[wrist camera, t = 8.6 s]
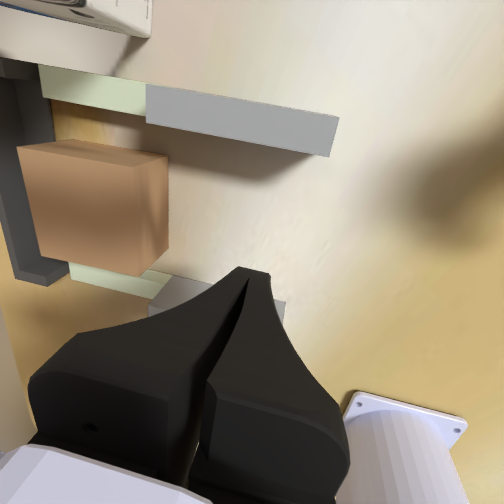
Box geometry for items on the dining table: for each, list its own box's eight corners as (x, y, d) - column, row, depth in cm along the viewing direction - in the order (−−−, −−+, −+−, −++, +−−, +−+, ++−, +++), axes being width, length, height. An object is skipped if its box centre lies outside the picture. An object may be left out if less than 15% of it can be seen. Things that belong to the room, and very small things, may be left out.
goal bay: (172, 292, 21) (164, 302, 20) (82, 270, 22) (71, 279, 21) (179, 88, 15) (169, 87, 14) (56, 66, 16) (38, 64, 15)
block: (169, 247, 20) (138, 277, 16) (87, 230, 20) (41, 255, 17) (169, 155, 17) (132, 167, 14) (75, 138, 18) (16, 146, 14)
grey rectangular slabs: (281, 319, 20) (275, 357, 17) (172, 292, 21) (148, 324, 18) (333, 115, 14) (339, 117, 11) (179, 88, 15) (145, 83, 12)
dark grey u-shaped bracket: (74, 268, 22) (47, 286, 20) (44, 261, 22) (15, 278, 20) (44, 64, 16) (1, 57, 14) (4, 57, 16) (-44, 50, 14)
